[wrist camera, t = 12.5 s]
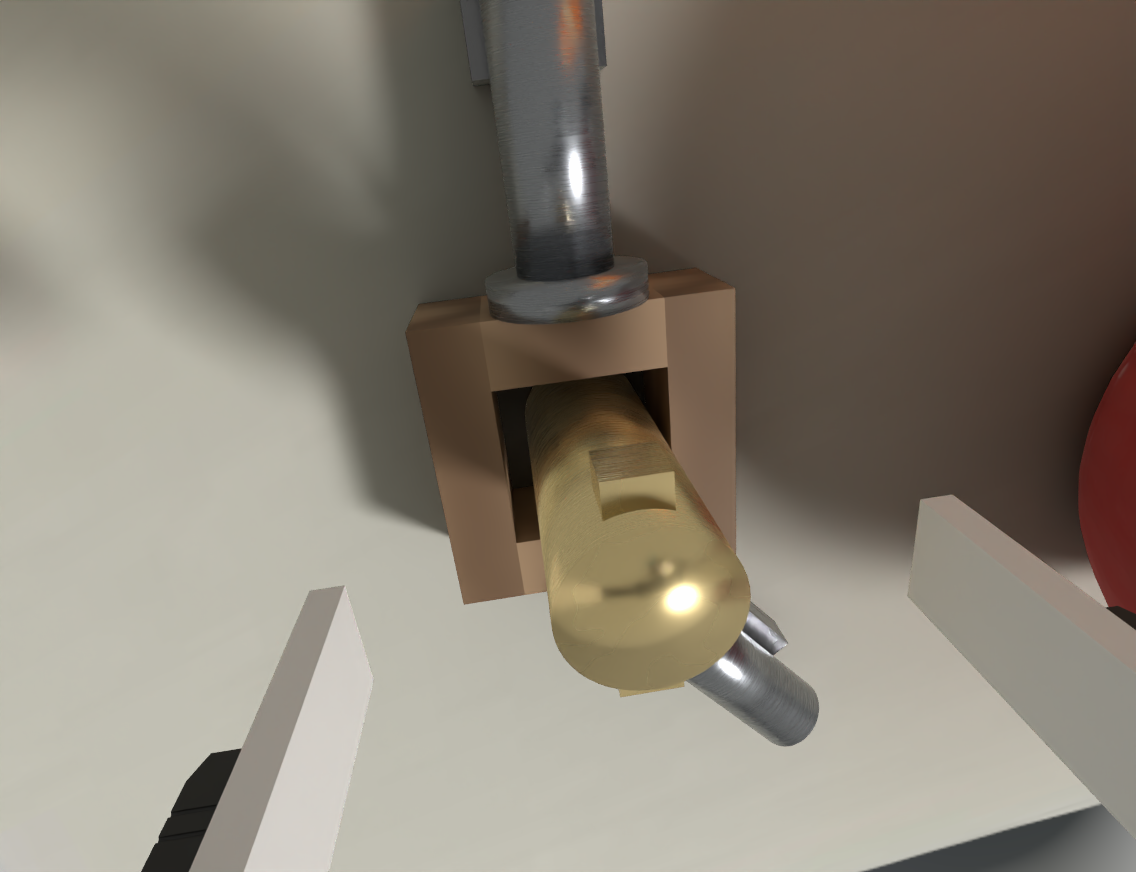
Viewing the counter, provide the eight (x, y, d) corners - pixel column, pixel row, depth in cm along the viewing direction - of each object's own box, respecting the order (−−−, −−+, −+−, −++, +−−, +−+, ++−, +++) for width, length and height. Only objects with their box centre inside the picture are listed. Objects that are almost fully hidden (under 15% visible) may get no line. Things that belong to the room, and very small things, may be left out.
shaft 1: (628, 276, 23) (667, 309, 18) (489, 294, 23) (489, 333, 18) (604, -65, 19) (646, -146, 14) (435, -48, 19) (415, -124, 14)
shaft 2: (545, 564, 27) (558, 654, 22) (628, 484, 26) (661, 561, 21) (723, 694, 32) (768, 795, 27) (801, 630, 31) (862, 723, 26)
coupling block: (696, 267, 23) (735, 288, 20) (702, 507, 27) (735, 561, 24) (418, 303, 23) (405, 332, 19) (467, 543, 27) (463, 604, 23)
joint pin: (632, 330, 24) (751, 476, 13) (642, 473, 26) (749, 698, 15) (514, 346, 24) (533, 509, 13) (535, 489, 26) (567, 729, 15)
